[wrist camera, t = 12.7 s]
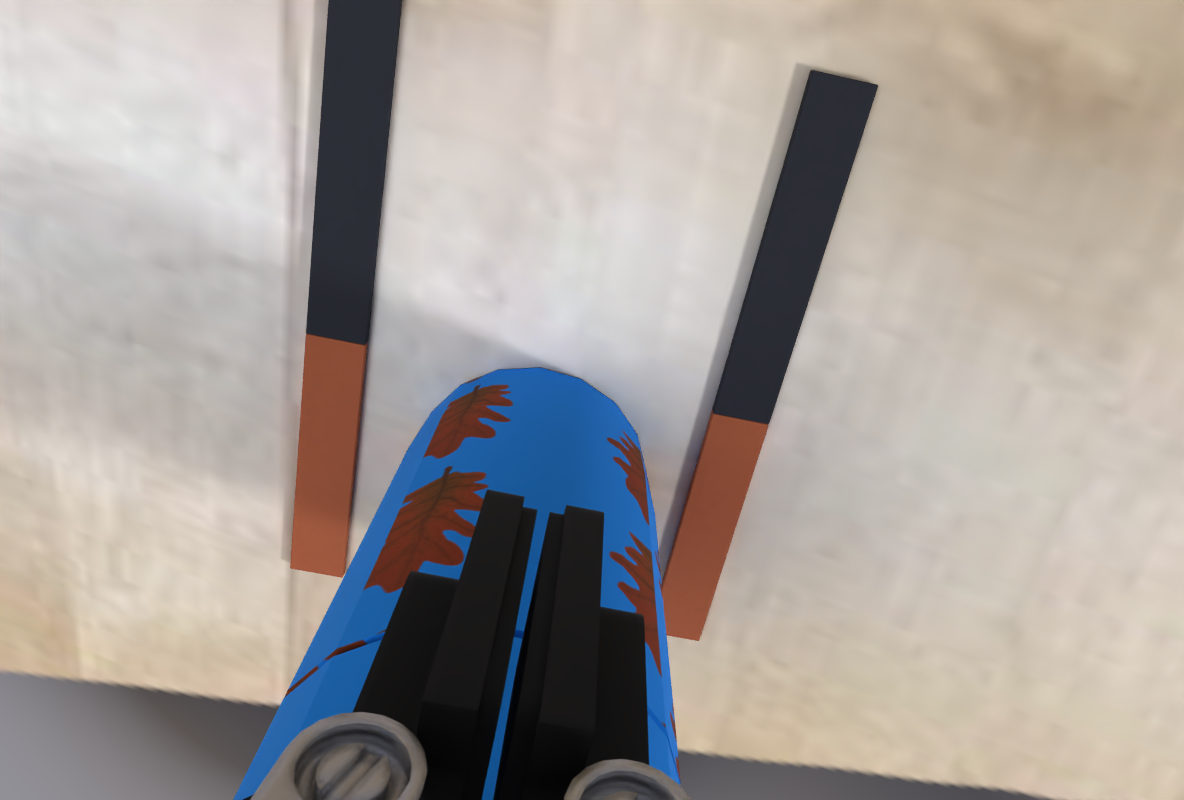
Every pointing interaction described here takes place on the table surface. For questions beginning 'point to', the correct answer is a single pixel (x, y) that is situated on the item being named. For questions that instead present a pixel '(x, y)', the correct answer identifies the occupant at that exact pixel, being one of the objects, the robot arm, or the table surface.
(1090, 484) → the table surface
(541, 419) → the thermos
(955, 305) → the table surface
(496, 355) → the table surface
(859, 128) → the lane
